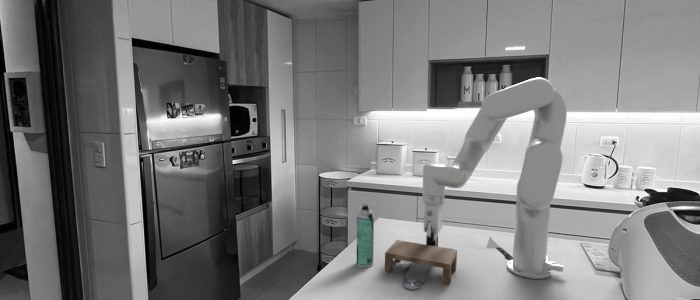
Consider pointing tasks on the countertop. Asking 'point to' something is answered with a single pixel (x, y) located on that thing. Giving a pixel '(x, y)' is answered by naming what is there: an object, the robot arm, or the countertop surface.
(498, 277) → the countertop surface
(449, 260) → the walnut bench
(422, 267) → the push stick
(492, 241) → the cleaver
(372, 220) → the spray can
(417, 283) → the disc
